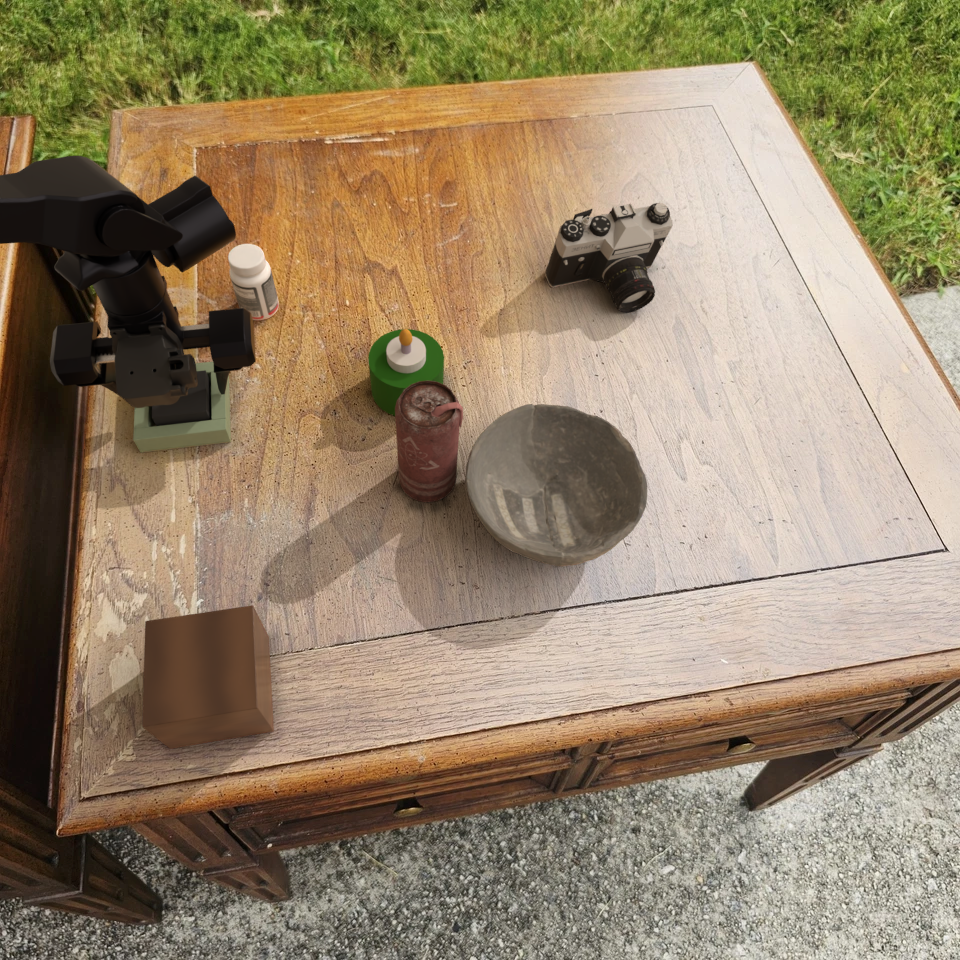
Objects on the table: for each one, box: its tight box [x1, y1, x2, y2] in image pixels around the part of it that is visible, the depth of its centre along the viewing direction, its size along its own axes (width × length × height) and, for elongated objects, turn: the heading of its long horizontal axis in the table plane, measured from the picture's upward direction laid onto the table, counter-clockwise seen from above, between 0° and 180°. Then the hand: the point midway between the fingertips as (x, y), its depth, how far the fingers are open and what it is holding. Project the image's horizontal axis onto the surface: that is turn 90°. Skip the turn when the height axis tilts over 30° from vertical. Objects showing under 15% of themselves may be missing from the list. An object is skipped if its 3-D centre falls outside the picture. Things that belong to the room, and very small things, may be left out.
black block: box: [152, 370, 212, 426], centre depth 86 cm, size 6×6×4 cm
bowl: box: [464, 403, 648, 568], centre depth 80 cm, size 18×18×8 cm
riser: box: [141, 604, 275, 750], centre depth 69 cm, size 9×9×8 cm
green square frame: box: [132, 361, 232, 454], centre depth 87 cm, size 10×10×2 cm
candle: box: [367, 328, 445, 417], centre depth 87 cm, size 8×8×10 cm
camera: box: [544, 202, 673, 314], centre depth 97 cm, size 15×11×10 cm
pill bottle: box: [227, 243, 280, 321], centre depth 93 cm, size 5×5×8 cm
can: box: [394, 380, 464, 503], centre depth 79 cm, size 6×6×14 cm
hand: (179, 396), depth 85 cm, fingers open, 9 cm apart
